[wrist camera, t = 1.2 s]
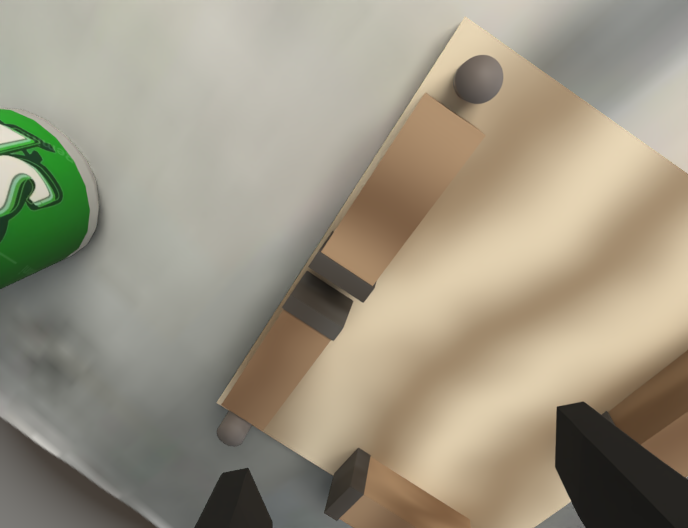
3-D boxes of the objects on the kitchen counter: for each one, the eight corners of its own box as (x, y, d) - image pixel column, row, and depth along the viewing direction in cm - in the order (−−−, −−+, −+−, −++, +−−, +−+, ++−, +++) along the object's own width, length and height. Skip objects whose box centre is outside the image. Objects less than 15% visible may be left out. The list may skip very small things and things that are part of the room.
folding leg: (423, 90, 16) (422, 91, 14) (480, 130, 16) (488, 137, 14) (323, 244, 19) (308, 266, 17) (372, 276, 19) (363, 303, 17)
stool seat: (835, 284, 17) (937, 334, 14) (476, 546, 26) (482, 616, 23) (463, 21, 16) (470, 3, 13) (225, 389, 25) (193, 437, 22)
